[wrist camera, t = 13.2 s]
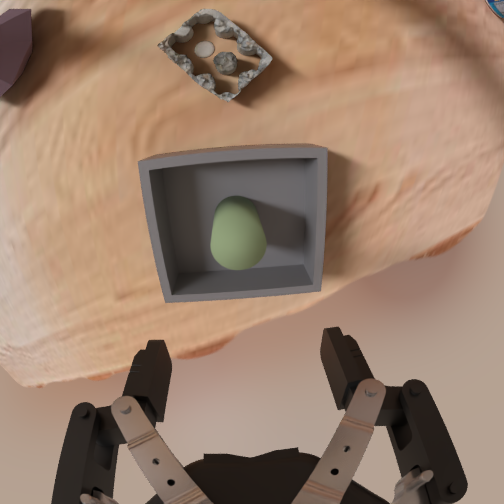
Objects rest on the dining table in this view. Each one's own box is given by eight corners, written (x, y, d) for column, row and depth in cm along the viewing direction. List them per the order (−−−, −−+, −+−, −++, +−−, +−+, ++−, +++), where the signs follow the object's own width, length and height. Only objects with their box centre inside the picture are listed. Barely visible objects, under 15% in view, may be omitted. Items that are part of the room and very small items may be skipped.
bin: (154, 155, 29) (137, 161, 23) (310, 143, 30) (327, 147, 24) (174, 276, 36) (165, 302, 30) (308, 266, 36) (320, 291, 31)
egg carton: (161, 53, 24) (151, 44, 20) (209, 12, 22) (206, -1, 18) (224, 109, 28) (222, 106, 24) (273, 67, 26) (278, 59, 22)
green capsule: (212, 196, 30) (208, 220, 23) (257, 194, 31) (266, 217, 24) (215, 237, 33) (213, 271, 26) (257, 235, 33) (266, 268, 26)
